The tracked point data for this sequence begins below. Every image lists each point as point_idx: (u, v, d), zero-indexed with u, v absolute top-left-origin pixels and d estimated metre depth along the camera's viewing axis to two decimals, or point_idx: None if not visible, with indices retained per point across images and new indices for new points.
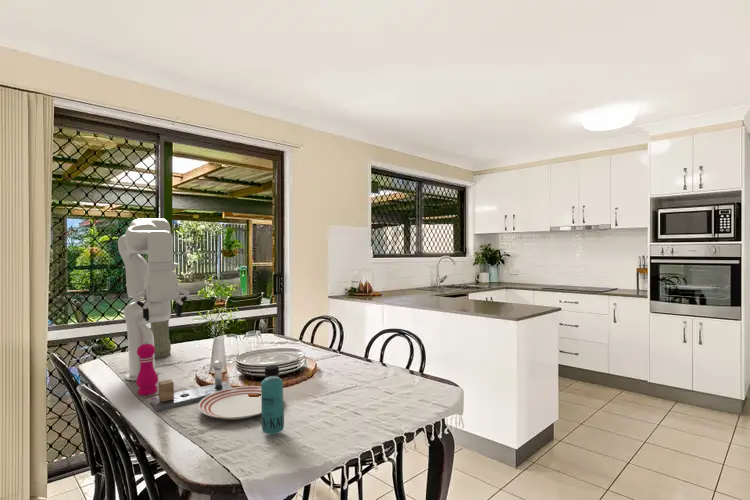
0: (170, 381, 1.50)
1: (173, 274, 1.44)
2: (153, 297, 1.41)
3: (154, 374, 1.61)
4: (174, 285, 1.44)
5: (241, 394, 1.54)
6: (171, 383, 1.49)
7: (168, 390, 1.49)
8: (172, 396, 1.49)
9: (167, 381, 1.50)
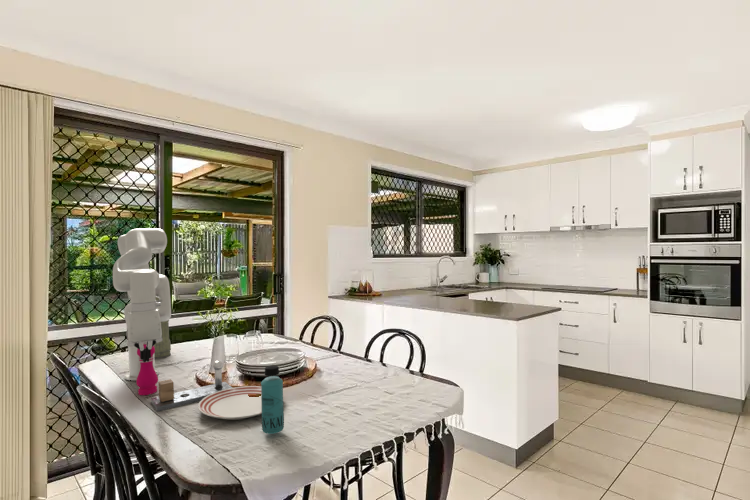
0: (170, 381, 1.50)
1: (156, 313, 1.46)
2: (136, 337, 1.42)
3: (154, 374, 1.61)
4: (156, 324, 1.46)
5: (241, 394, 1.54)
6: (171, 383, 1.49)
7: (168, 390, 1.49)
8: (172, 396, 1.49)
9: (167, 381, 1.50)
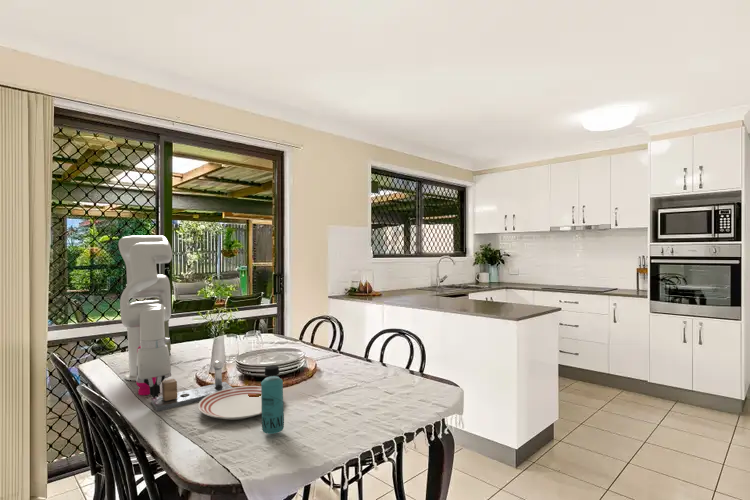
0: (173, 380, 1.51)
1: (165, 350, 1.48)
2: (145, 373, 1.44)
3: None
4: (166, 360, 1.48)
5: (241, 394, 1.54)
6: (174, 382, 1.50)
7: (171, 389, 1.49)
8: (175, 395, 1.50)
9: (170, 380, 1.51)
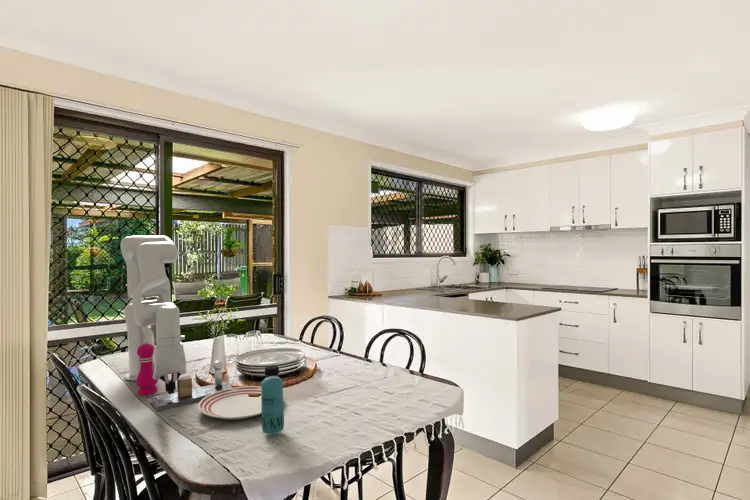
0: (188, 377, 1.54)
1: (180, 347, 1.51)
2: (162, 370, 1.47)
3: None
4: (181, 358, 1.51)
5: (241, 394, 1.54)
6: (189, 379, 1.53)
7: (186, 386, 1.52)
8: (190, 392, 1.53)
9: (185, 377, 1.54)
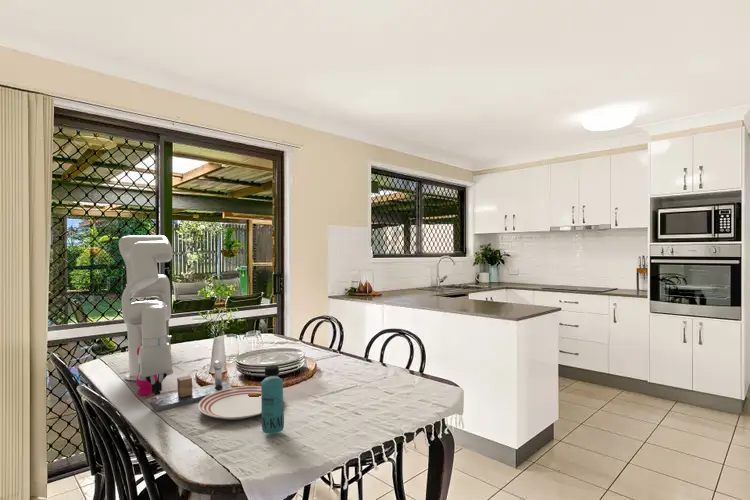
0: (189, 377, 1.54)
1: (167, 347, 1.48)
2: (147, 371, 1.45)
3: None
4: (167, 358, 1.48)
5: (241, 394, 1.54)
6: (190, 379, 1.53)
7: (186, 386, 1.52)
8: (191, 392, 1.53)
9: (186, 377, 1.54)
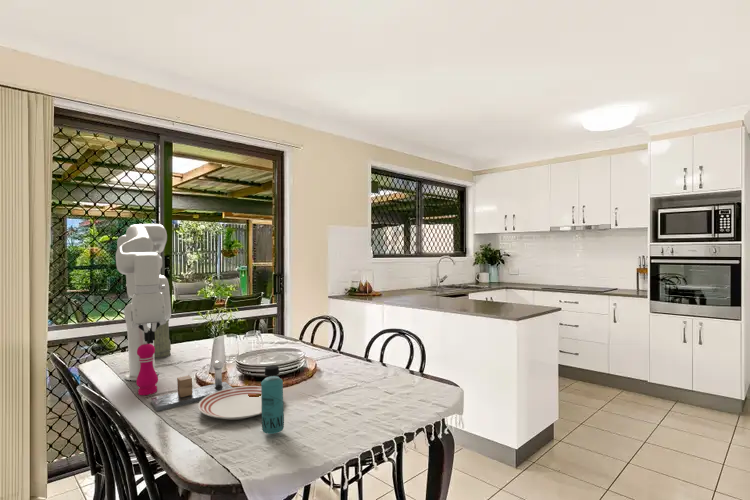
0: (189, 377, 1.54)
1: (160, 296, 1.47)
2: (140, 319, 1.44)
3: (154, 374, 1.61)
4: (161, 307, 1.47)
5: (241, 394, 1.54)
6: (190, 379, 1.53)
7: (186, 386, 1.52)
8: (191, 392, 1.53)
9: (186, 377, 1.54)
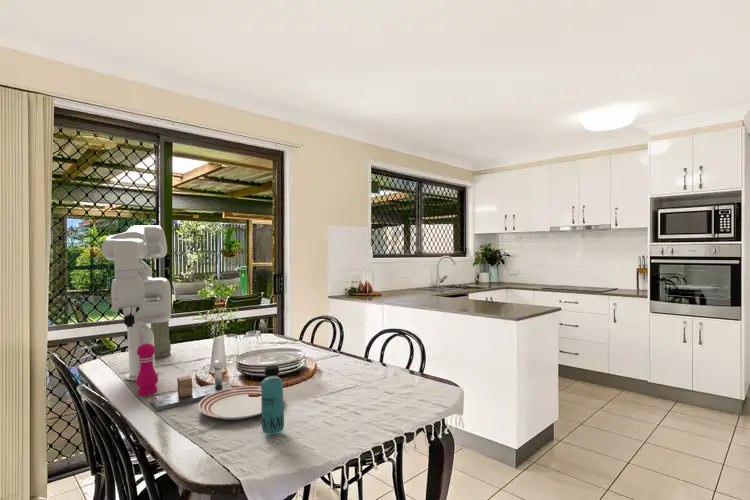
0: (189, 377, 1.54)
1: (139, 281, 1.51)
2: (119, 302, 1.48)
3: (154, 374, 1.61)
4: (140, 291, 1.51)
5: (241, 394, 1.54)
6: (190, 379, 1.53)
7: (186, 386, 1.52)
8: (191, 392, 1.53)
9: (186, 377, 1.54)
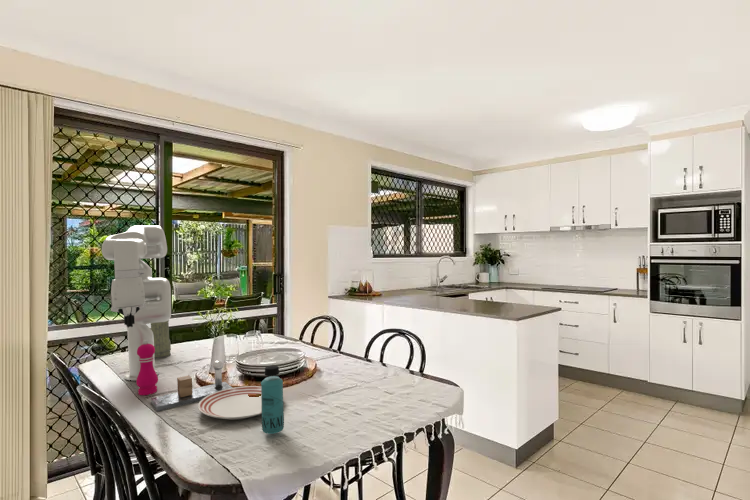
0: (189, 377, 1.54)
1: (139, 281, 1.51)
2: (119, 302, 1.48)
3: (154, 374, 1.61)
4: (140, 291, 1.51)
5: (241, 394, 1.54)
6: (190, 379, 1.53)
7: (186, 386, 1.52)
8: (191, 392, 1.53)
9: (186, 377, 1.54)
